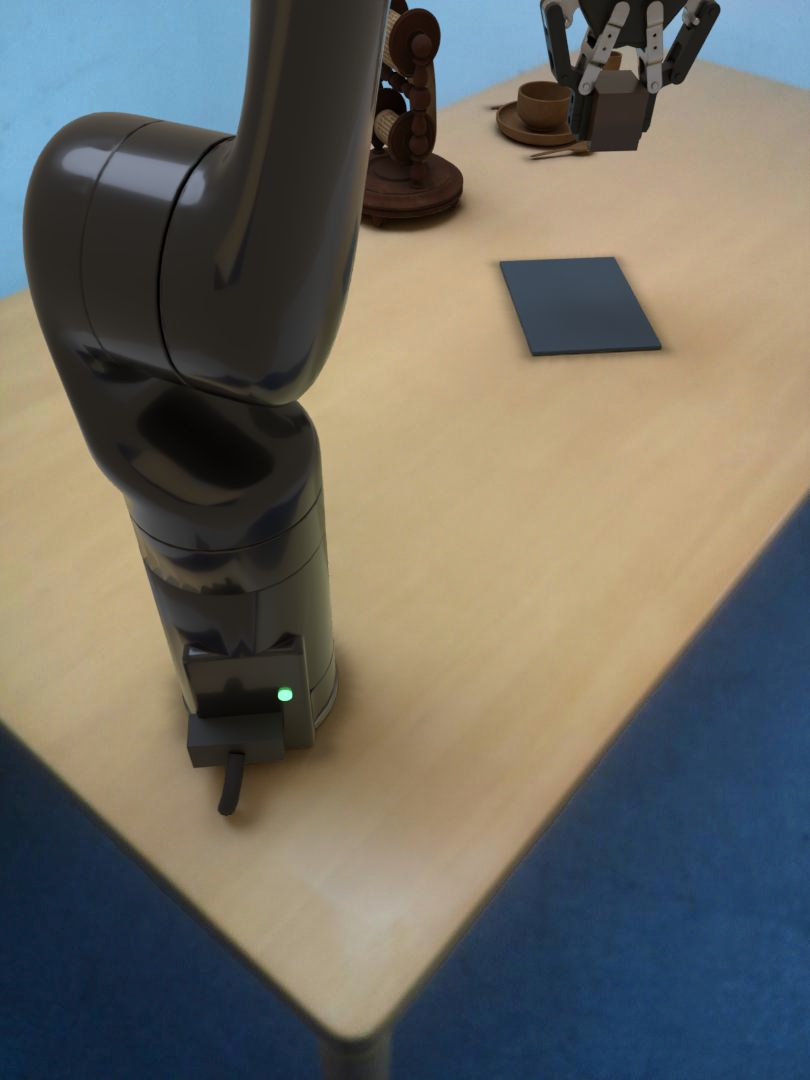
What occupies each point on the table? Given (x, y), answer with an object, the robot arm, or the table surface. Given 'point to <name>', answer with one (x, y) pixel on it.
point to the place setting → (543, 113)
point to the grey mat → (577, 306)
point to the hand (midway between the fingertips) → (606, 136)
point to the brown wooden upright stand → (408, 125)
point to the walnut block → (616, 112)
